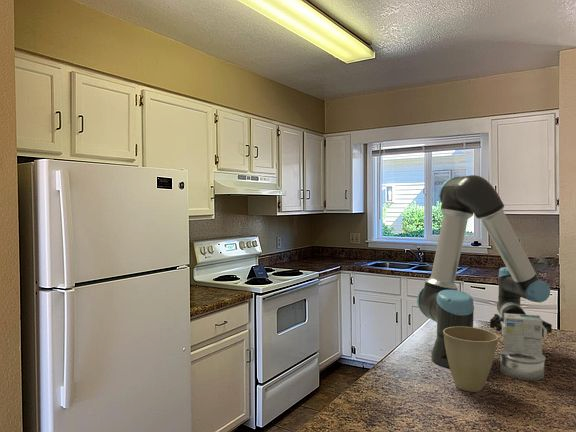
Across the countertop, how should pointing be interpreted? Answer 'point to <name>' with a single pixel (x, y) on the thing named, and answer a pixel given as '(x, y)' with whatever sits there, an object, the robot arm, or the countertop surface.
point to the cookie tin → (522, 364)
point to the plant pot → (470, 355)
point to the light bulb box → (523, 333)
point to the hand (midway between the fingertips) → (524, 332)
